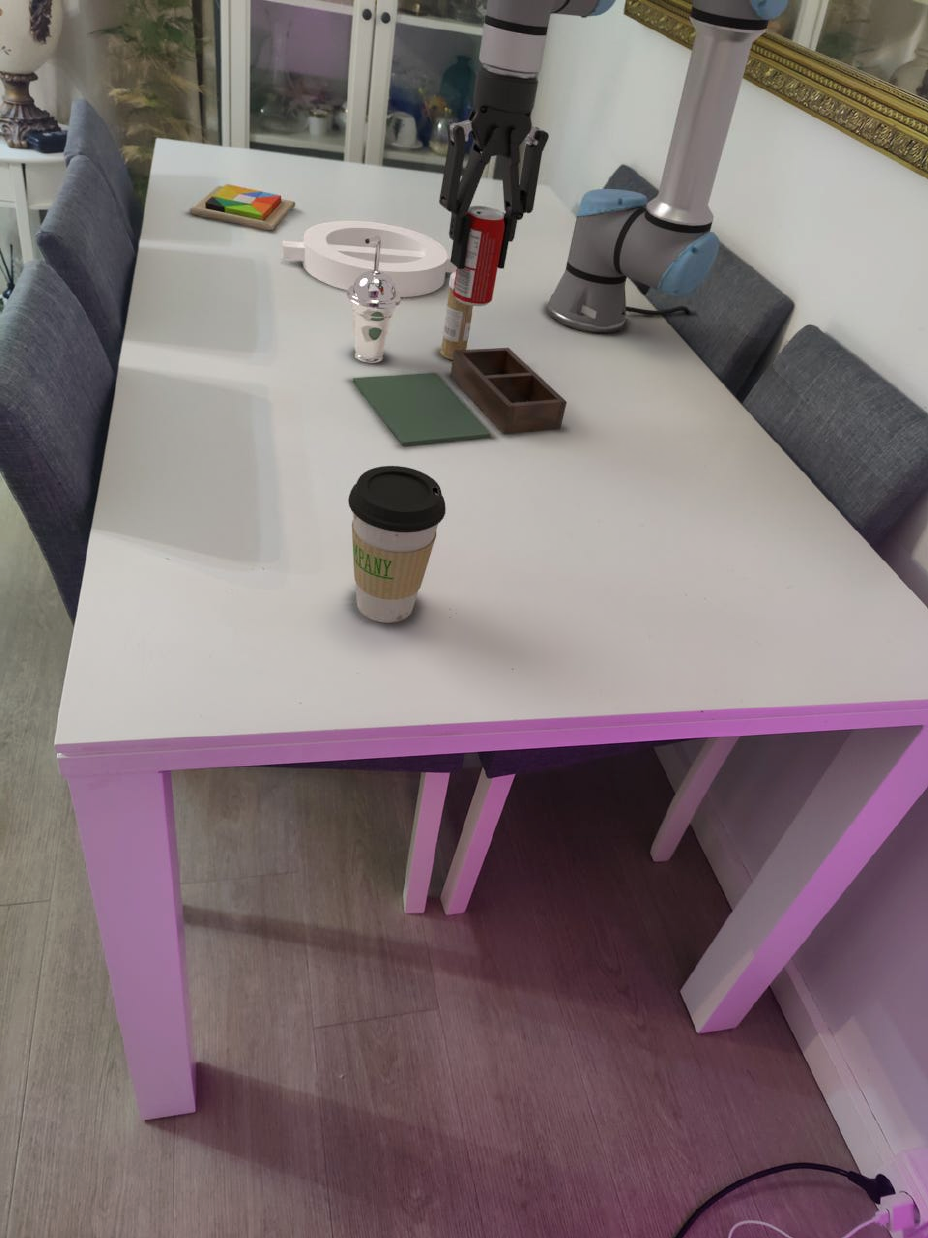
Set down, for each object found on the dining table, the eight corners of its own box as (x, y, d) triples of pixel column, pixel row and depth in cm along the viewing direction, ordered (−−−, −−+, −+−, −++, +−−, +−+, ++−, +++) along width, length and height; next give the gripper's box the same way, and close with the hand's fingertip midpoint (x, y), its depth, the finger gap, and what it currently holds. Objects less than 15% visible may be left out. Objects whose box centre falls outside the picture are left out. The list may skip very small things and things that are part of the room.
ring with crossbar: (470, 276, 184) (474, 252, 181) (390, 308, 164) (393, 282, 161) (360, 235, 193) (362, 212, 190) (272, 261, 173) (272, 236, 170)
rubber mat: (434, 376, 146) (435, 372, 145) (490, 437, 132) (490, 433, 132) (352, 381, 140) (353, 377, 139) (402, 446, 127) (403, 442, 126)
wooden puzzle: (187, 216, 186) (186, 198, 184) (220, 193, 201) (220, 176, 198) (269, 233, 186) (269, 215, 183) (296, 209, 200) (297, 192, 198)
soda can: (496, 298, 128) (511, 209, 120) (484, 310, 124) (500, 219, 116) (459, 288, 129) (472, 199, 121) (447, 300, 124) (460, 208, 117)
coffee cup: (340, 574, 102) (349, 458, 93) (426, 579, 104) (444, 466, 94) (339, 631, 95) (349, 511, 85) (432, 636, 96) (452, 519, 87)
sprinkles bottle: (471, 359, 153) (484, 280, 144) (448, 362, 150) (460, 281, 142) (456, 348, 155) (468, 269, 147) (434, 350, 153) (445, 271, 145)
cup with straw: (405, 361, 148) (420, 235, 135) (364, 373, 142) (376, 243, 130) (370, 341, 152) (381, 217, 139) (329, 352, 146) (336, 224, 134)
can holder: (503, 373, 150) (508, 347, 148) (560, 428, 138) (567, 401, 135) (449, 376, 146) (453, 350, 143) (503, 434, 134) (509, 406, 131)
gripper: (557, 69, 115) (522, 254, 130) (426, 56, 107) (404, 255, 122) (588, 83, 110) (548, 274, 125) (453, 70, 102) (427, 276, 117)
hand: (477, 264), depth 123 cm, fingers closed on soda can, 5 cm apart
